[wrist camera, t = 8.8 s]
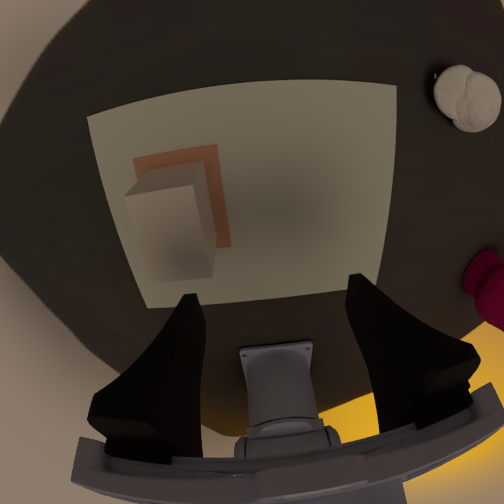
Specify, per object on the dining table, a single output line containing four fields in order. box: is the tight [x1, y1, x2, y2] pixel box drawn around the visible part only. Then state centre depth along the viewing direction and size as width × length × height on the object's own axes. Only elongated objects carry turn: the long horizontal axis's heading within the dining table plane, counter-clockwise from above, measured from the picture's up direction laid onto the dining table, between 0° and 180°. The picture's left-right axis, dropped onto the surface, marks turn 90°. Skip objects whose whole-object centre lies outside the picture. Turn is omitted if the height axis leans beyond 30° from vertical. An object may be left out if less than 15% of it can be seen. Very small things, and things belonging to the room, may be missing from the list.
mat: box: [87, 80, 396, 308], centre depth 21 cm, size 18×22×1 cm
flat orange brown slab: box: [133, 144, 231, 249], centre depth 20 cm, size 8×6×1 cm
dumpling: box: [434, 65, 501, 132], centre depth 14 cm, size 7×5×4 cm
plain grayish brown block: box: [123, 160, 217, 283], centre depth 18 cm, size 4×6×5 cm, turn 6°
